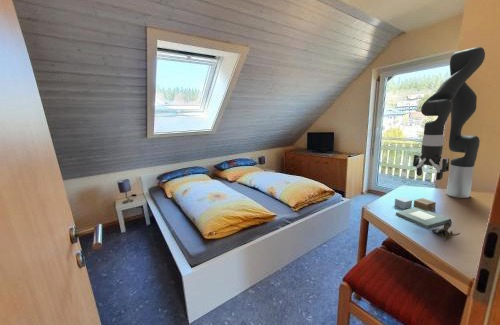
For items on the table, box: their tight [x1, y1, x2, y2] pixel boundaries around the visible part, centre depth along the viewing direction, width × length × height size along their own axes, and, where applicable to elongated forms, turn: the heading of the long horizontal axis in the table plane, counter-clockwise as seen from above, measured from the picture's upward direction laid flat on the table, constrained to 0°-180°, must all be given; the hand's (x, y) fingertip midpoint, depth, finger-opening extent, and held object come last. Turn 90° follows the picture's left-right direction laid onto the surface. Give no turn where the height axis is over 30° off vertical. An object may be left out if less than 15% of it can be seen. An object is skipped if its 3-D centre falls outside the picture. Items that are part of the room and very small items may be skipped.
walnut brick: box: [413, 197, 437, 212], centre depth 107 cm, size 6×6×4 cm
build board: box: [395, 207, 451, 229], centre depth 98 cm, size 14×14×1 cm
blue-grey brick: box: [394, 196, 413, 210], centre depth 110 cm, size 5×5×4 cm
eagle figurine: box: [432, 218, 461, 242], centre depth 83 cm, size 8×7×9 cm
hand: (428, 177), depth 103 cm, fingers open, 8 cm apart
